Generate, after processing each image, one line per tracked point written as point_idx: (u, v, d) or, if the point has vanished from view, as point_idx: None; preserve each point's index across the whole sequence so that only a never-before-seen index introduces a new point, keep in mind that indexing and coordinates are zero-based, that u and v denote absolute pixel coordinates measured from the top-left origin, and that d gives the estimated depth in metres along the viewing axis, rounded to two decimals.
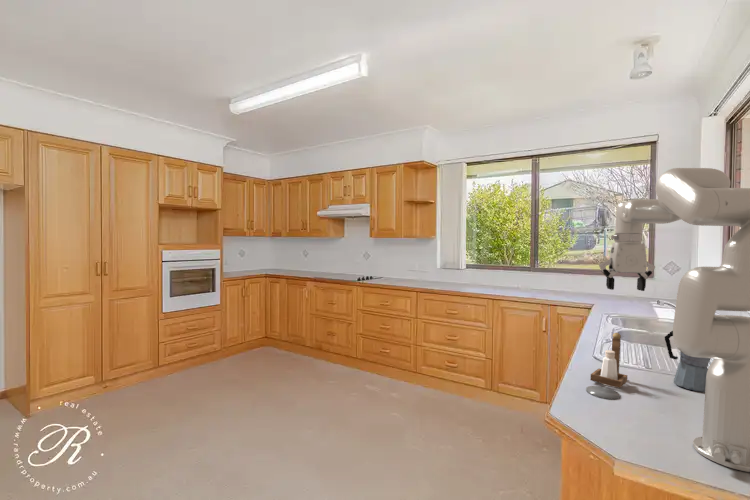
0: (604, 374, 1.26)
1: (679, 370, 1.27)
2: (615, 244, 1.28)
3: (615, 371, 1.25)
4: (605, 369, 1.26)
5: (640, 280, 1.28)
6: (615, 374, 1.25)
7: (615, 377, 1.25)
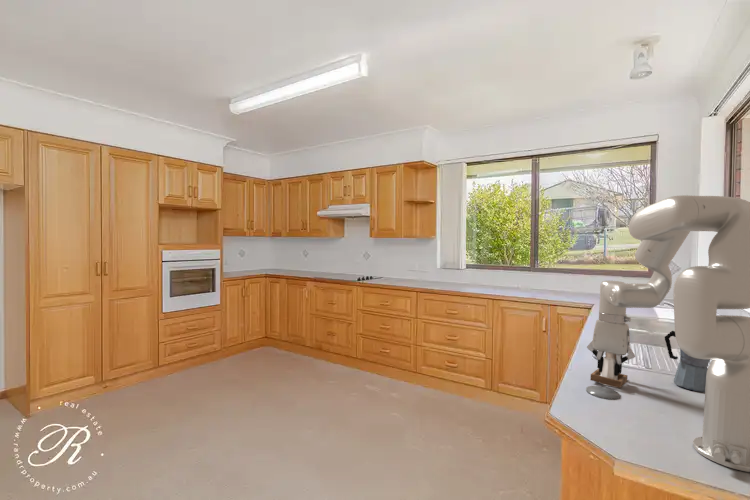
0: (604, 374, 1.26)
1: (679, 370, 1.27)
2: (628, 326, 1.24)
3: None
4: (605, 369, 1.26)
5: None
6: None
7: (615, 377, 1.25)
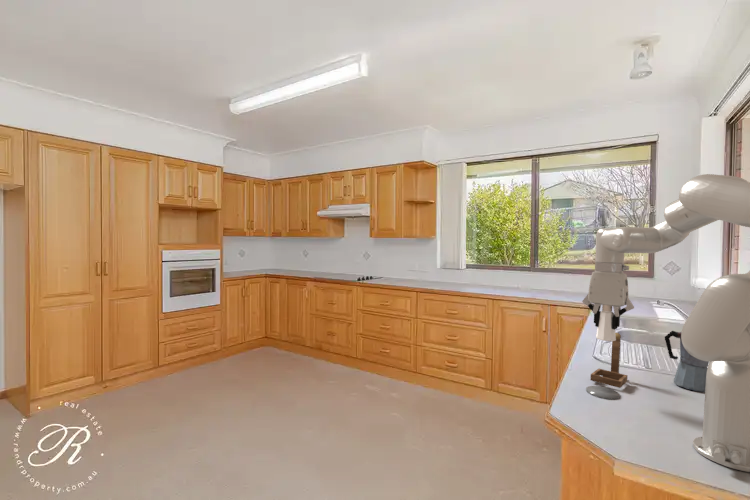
0: (601, 328, 1.18)
1: (679, 370, 1.27)
2: (626, 275, 1.15)
3: None
4: (602, 323, 1.17)
5: None
6: None
7: (613, 331, 1.16)
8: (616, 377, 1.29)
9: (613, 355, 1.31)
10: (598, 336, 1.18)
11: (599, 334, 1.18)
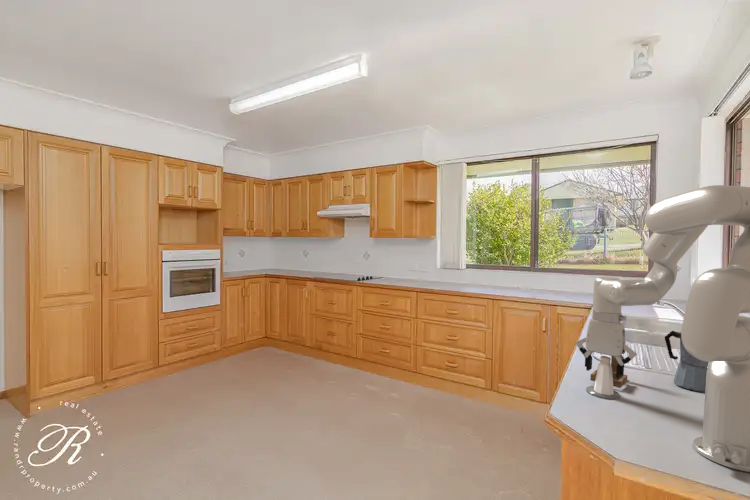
0: (599, 382, 1.18)
1: (679, 370, 1.27)
2: (623, 325, 1.16)
3: (611, 379, 1.17)
4: (600, 376, 1.18)
5: (591, 359, 1.22)
6: (611, 382, 1.17)
7: (610, 385, 1.17)
8: (616, 377, 1.29)
9: None
10: (596, 389, 1.19)
11: (597, 387, 1.18)
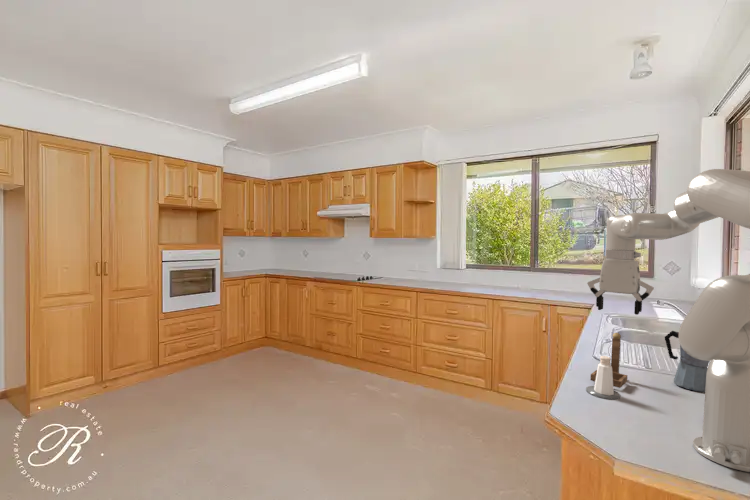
0: (599, 382, 1.18)
1: (679, 370, 1.27)
2: (638, 263, 1.15)
3: (611, 379, 1.17)
4: (600, 376, 1.18)
5: (602, 299, 1.21)
6: (611, 382, 1.17)
7: (610, 385, 1.17)
8: (616, 377, 1.29)
9: (613, 355, 1.31)
10: (596, 389, 1.19)
11: (597, 387, 1.18)
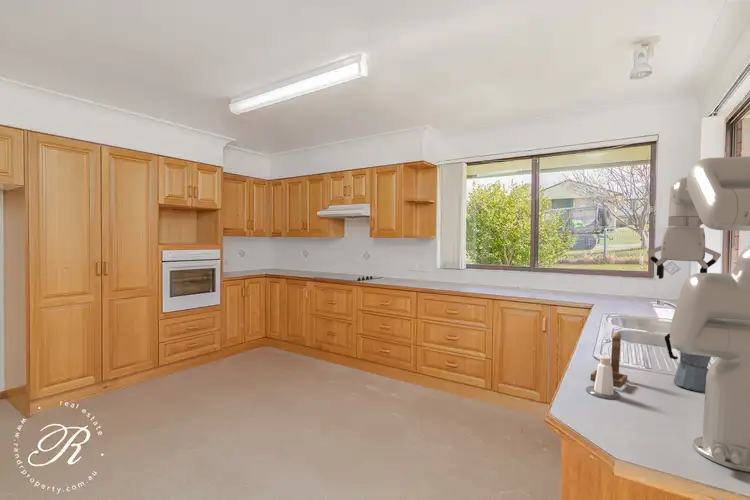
0: (599, 382, 1.18)
1: (679, 370, 1.27)
2: (703, 229, 1.12)
3: (611, 379, 1.17)
4: (600, 376, 1.18)
5: (663, 267, 1.18)
6: (611, 382, 1.17)
7: (610, 385, 1.17)
8: (616, 377, 1.29)
9: (613, 355, 1.31)
10: (596, 389, 1.19)
11: (597, 387, 1.18)
